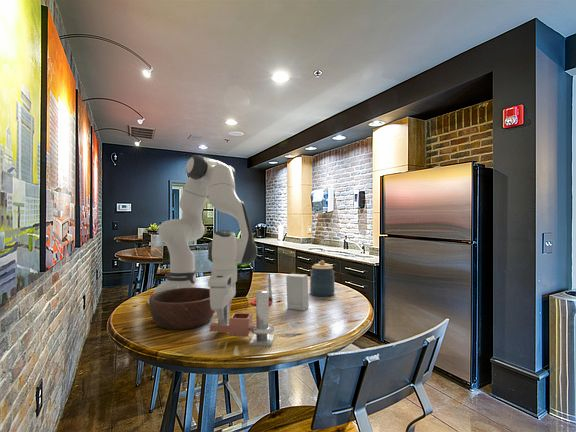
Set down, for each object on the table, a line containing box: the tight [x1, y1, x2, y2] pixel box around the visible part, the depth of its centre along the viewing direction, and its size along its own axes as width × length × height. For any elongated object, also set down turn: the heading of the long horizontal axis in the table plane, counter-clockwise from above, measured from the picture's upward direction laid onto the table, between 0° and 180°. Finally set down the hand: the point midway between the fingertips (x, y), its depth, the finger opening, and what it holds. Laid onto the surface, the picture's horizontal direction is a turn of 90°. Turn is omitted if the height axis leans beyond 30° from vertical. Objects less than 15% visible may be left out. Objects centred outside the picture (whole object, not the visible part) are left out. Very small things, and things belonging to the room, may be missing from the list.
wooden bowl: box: [148, 287, 216, 330], centre depth 120 cm, size 25×25×10 cm
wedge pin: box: [217, 303, 230, 334], centre depth 110 cm, size 3×3×10 cm
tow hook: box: [250, 273, 274, 306], centre depth 145 cm, size 9×14×10 cm
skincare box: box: [285, 273, 310, 312], centre depth 137 cm, size 8×6×15 cm
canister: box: [309, 259, 336, 297], centre depth 163 cm, size 13×13×18 cm
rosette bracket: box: [209, 289, 275, 347], centre depth 101 cm, size 21×8×16 cm, turn 86°
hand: (224, 315), depth 110 cm, fingers open, 7 cm apart
